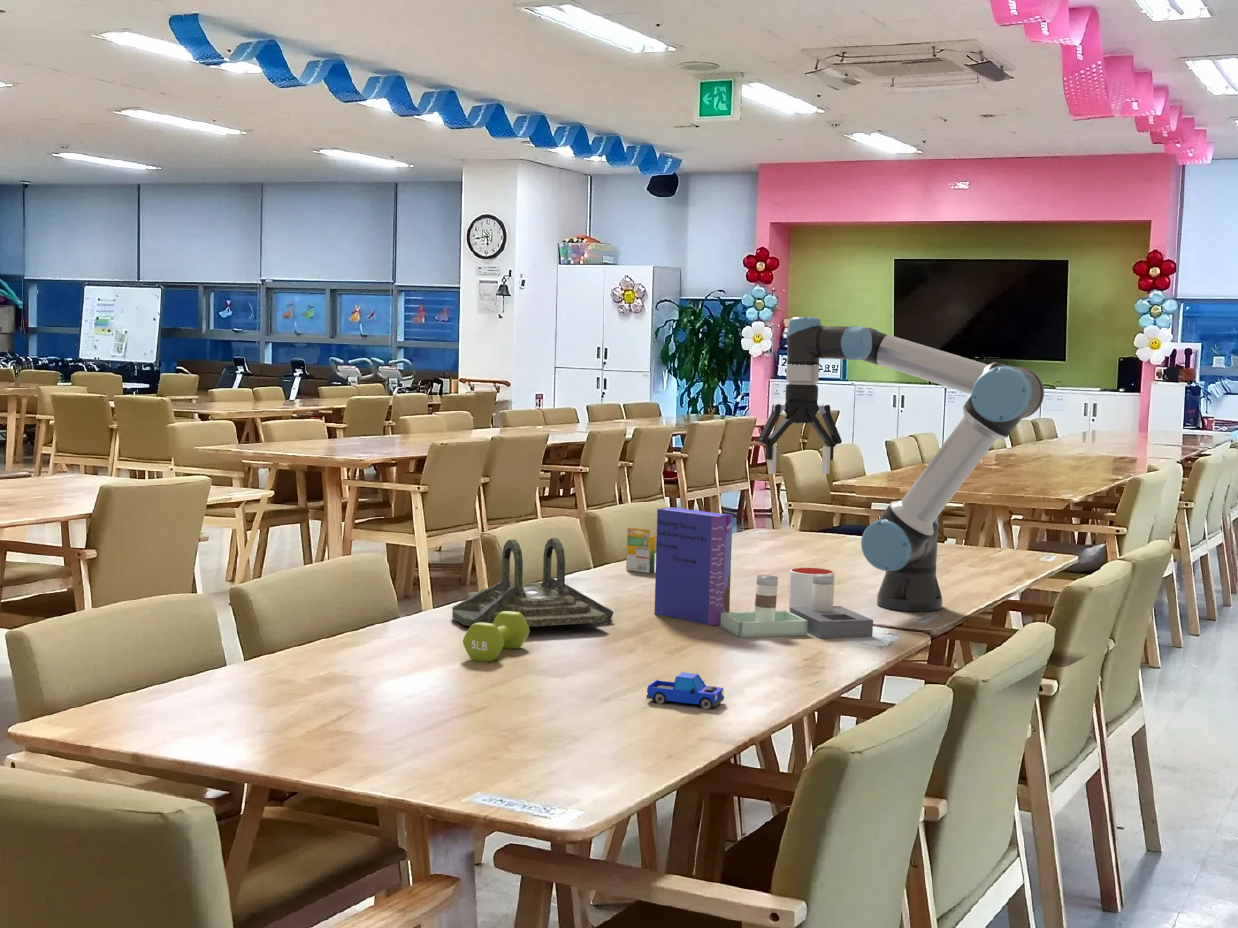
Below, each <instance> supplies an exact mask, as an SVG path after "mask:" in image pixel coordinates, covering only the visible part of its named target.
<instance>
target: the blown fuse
mask: <svg viewBox="0 0 1238 928" xmlns="http://www.w3.org/2000/svg"><path fill="white" fill-rule="evenodd" d="M778 581H779V577H778V576H776V575H771V574H758V575H756V582H755V583H756V586H755V597H754V598H755V599H754V600H755V601H754V612H755V614H754V622H762V621H775V613H776V611H777V609H776V608H777V596H778V583H779V582H778Z"/></svg>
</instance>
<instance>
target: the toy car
mask: <svg viewBox="0 0 1238 928" xmlns="http://www.w3.org/2000/svg"><path fill="white" fill-rule="evenodd" d="M724 691H725V690H724V687H720V686H719V687H718V686H712V685H711V686H710V685H709V686H708V685H707V684H705V681H704V680H703V679H702V678H701V676H700V675H699V673H691V672H681V673H679V674H678V675H677V674H676V676H675V678H674V681H667V680H666V681H665V680H659V679H655V680H654V681H652V682H651V683H649V684H648V686H647V687H646V693H647V694H646V699H648V700H653V702H654V704H661V705H665V704H666V703H667V702H668V701H669V702H674V703H675V702H676V703H682V704H683V703H684V704H693V705H699V707H700V709H702V710H703V709H706V710H711V709H712V708H713V707H717V706H718V705H719V704H720V703H722V702H723V701H724V700H725V696H724Z"/></svg>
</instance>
